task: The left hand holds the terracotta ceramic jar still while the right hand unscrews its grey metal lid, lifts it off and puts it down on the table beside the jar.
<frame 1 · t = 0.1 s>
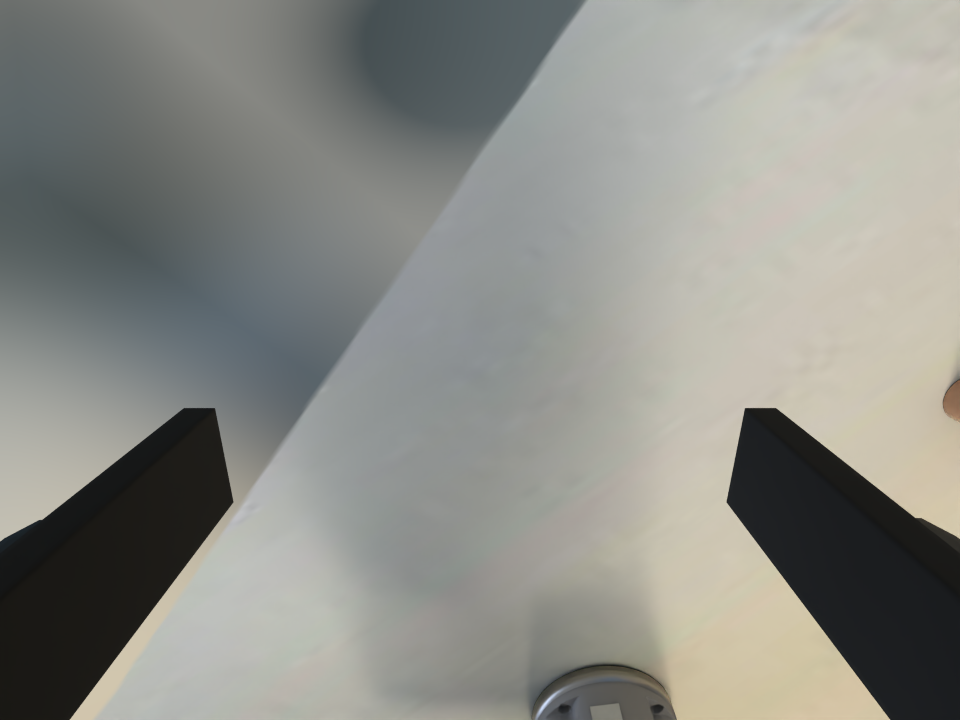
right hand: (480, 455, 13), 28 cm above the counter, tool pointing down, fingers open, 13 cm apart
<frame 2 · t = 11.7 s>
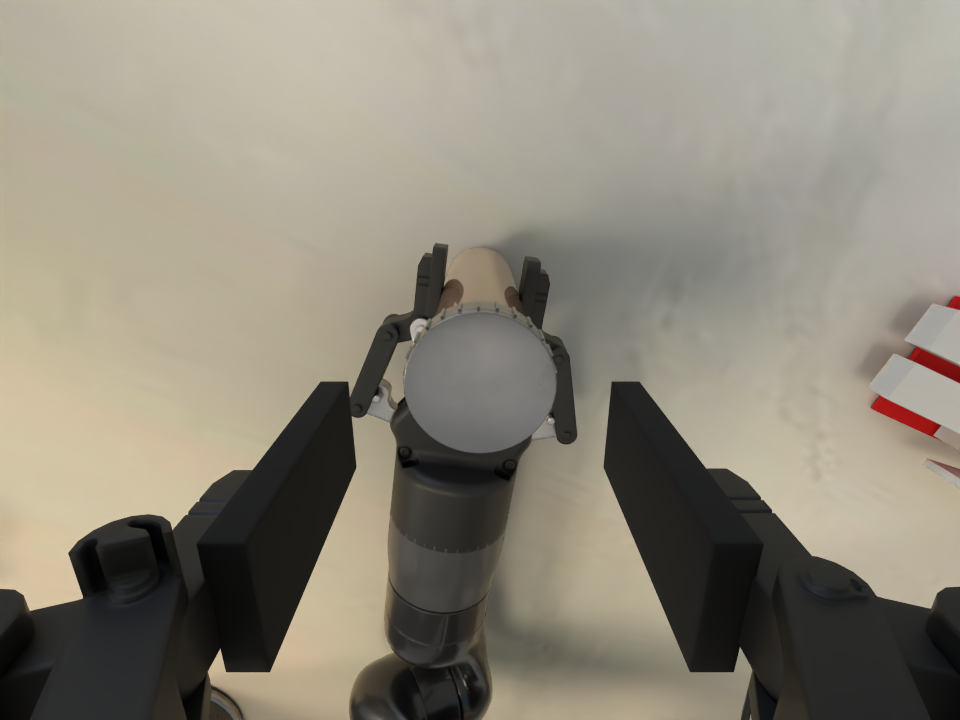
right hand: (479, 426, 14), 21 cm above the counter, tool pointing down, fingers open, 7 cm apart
left hand: (486, 253, 27), fingers closed on jar, 4 cm apart
lid: (480, 382, 17), point 18 cm above the counter, screwed on, not yet turned
jar: (479, 279, 34), on the counter, touching left hand
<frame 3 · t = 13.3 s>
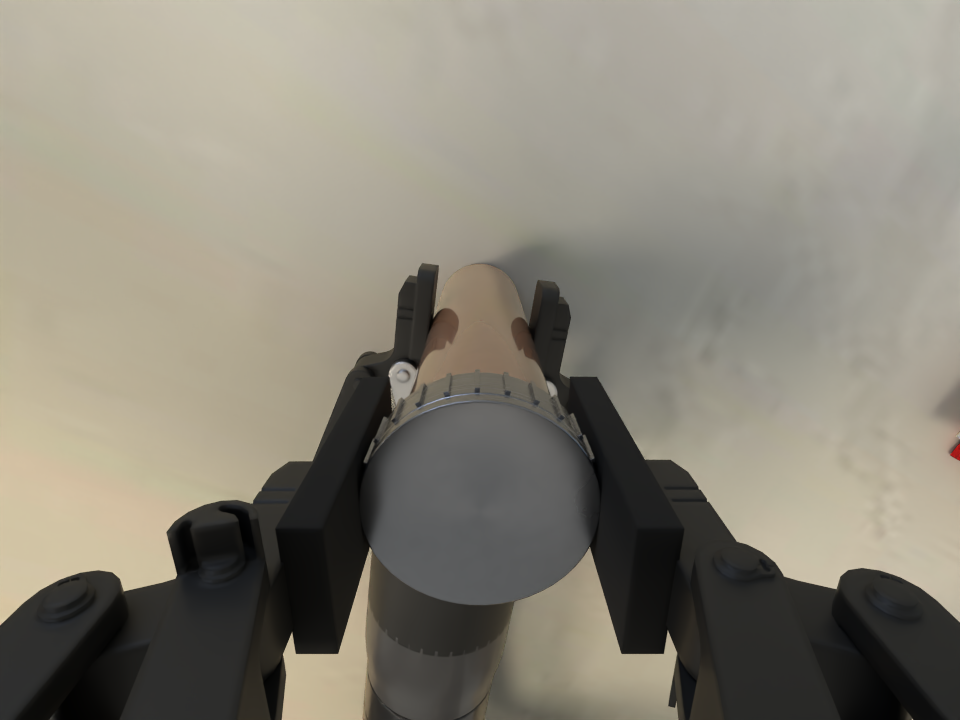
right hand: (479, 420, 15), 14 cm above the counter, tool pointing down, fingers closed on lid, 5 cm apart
lid: (479, 501, 11), point 18 cm above the counter, screwed on, not yet turned, touching right hand
jar: (479, 302, 28), on the counter, touching left hand
when the right hand's fingers open (0 cm above the counter, at t = 27.6 s): lid drops 3 cm, point 1 cm above the counter.
when the left hand's fingers open (7 cm above the counter, at t = 28.3 s): jar stays where it is, on the counter.
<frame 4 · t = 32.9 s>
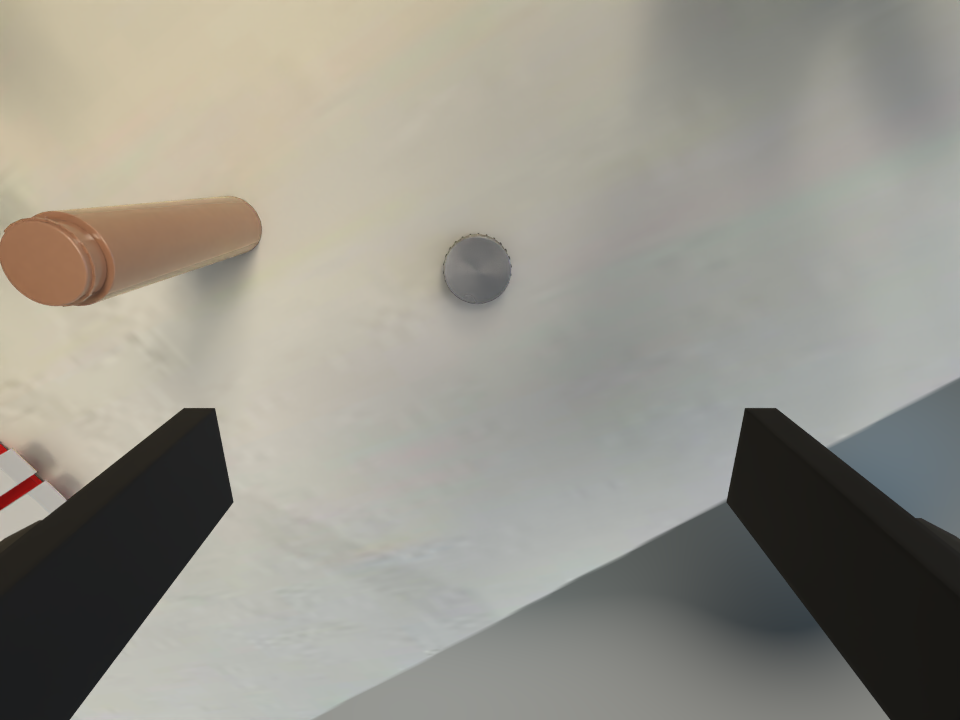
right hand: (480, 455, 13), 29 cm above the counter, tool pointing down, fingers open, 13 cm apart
lid: (477, 270, 39), point 1 cm above the counter, off its thread
jar: (233, 225, 39), on the counter
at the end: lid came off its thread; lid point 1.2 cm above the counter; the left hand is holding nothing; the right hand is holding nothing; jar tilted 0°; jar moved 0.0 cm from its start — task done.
